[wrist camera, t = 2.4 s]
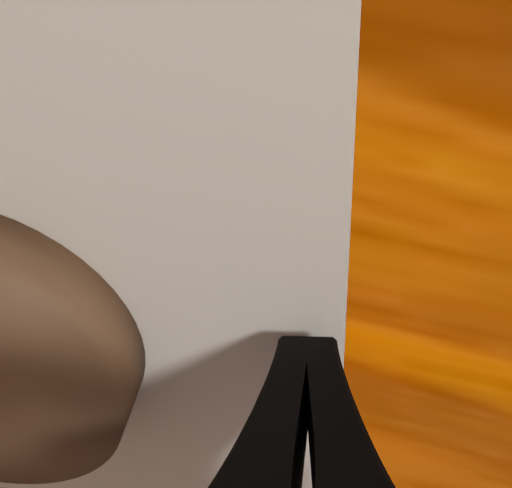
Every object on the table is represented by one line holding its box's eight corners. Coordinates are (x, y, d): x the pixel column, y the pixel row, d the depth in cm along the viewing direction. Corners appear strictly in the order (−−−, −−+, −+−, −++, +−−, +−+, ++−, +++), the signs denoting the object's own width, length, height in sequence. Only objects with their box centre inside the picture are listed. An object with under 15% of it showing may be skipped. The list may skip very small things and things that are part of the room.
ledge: (334, 437, 20) (336, 511, 18) (-15, 419, 22) (-56, 483, 20) (352, -76, 10) (364, -67, 7) (-311, -20, 12) (-475, 1, 9)
